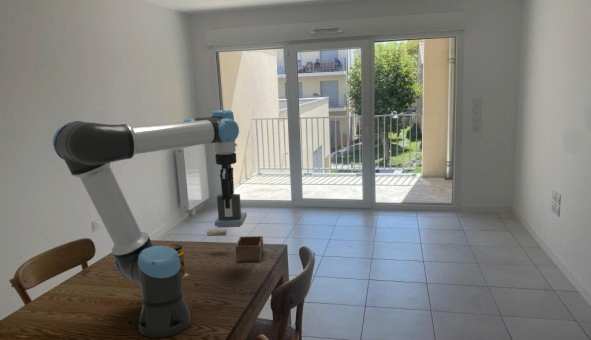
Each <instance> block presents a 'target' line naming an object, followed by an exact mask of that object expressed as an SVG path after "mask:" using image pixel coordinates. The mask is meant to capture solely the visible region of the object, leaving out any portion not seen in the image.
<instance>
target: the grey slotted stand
mask: <svg viewBox="0 0 591 340" xmlns="http://www.w3.org/2000/svg"><path fill="white" fill-rule="evenodd" d="M231 199H232V214H233V216H232V217H225V209H224V200H222V194H217V196H216V201H217V215H218V217H217V218H216V219H215V221H214V227H217V228H219V229H220V228H241V226H243V224H244V222H245V220H246V218H247V215H248V214H247V212H242V207H241V194H239V193H238V194H237V193H233V194H231Z"/></svg>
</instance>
